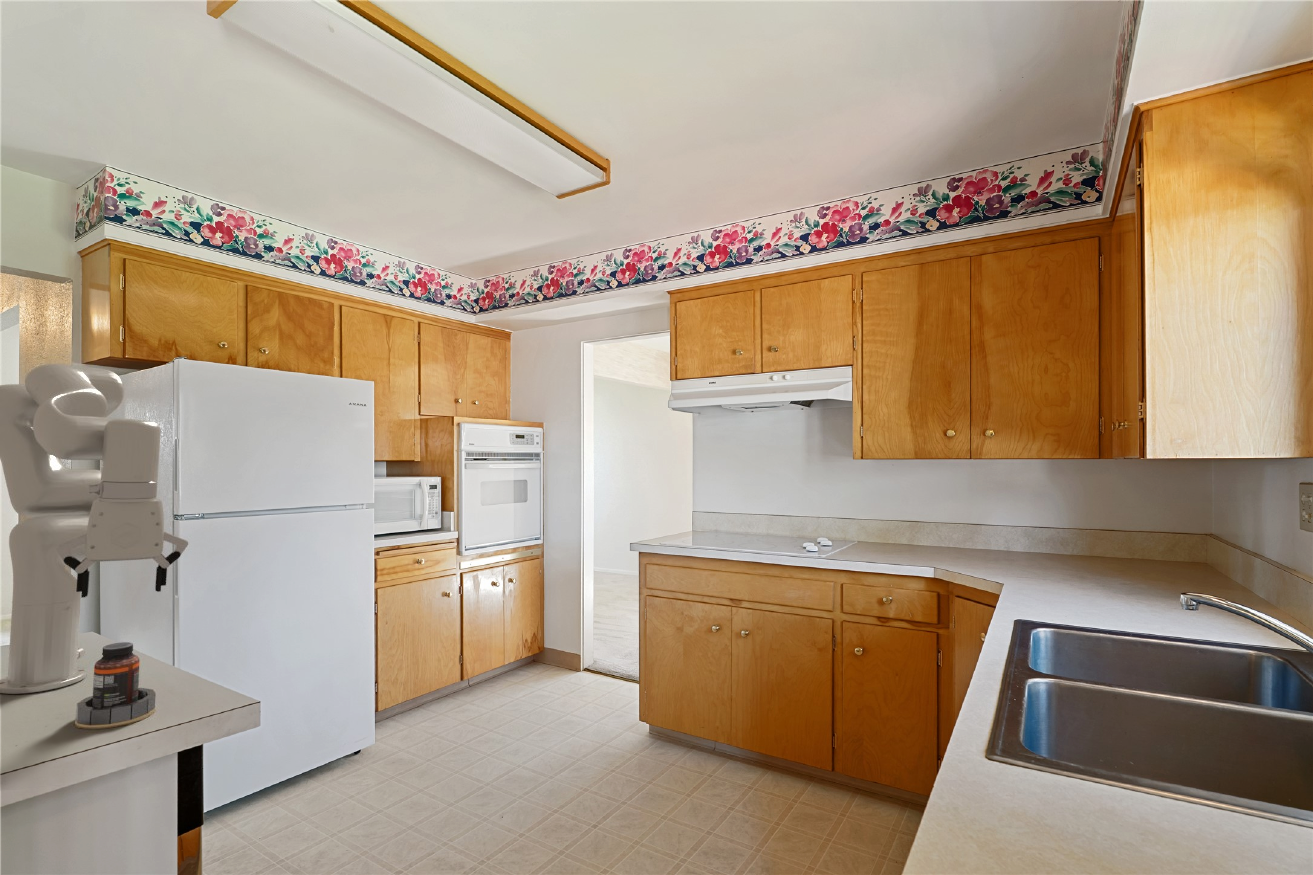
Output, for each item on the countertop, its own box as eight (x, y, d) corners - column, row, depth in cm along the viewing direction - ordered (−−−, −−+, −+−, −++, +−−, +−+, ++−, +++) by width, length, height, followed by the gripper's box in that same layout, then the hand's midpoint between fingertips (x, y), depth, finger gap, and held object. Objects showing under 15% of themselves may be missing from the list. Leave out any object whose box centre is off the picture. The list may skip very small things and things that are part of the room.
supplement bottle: (132, 703, 113) (136, 638, 114) (141, 712, 110) (145, 645, 110) (87, 712, 109) (91, 644, 109) (95, 722, 105) (100, 652, 105)
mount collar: (96, 707, 113) (97, 689, 113) (166, 702, 116) (167, 685, 116) (59, 731, 103) (60, 712, 103) (137, 726, 106) (138, 707, 106)
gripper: (58, 493, 102) (50, 603, 102) (192, 493, 113) (186, 592, 112) (62, 490, 108) (55, 593, 107) (190, 490, 119) (184, 584, 118)
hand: (122, 592), depth 110 cm, fingers open, 9 cm apart
